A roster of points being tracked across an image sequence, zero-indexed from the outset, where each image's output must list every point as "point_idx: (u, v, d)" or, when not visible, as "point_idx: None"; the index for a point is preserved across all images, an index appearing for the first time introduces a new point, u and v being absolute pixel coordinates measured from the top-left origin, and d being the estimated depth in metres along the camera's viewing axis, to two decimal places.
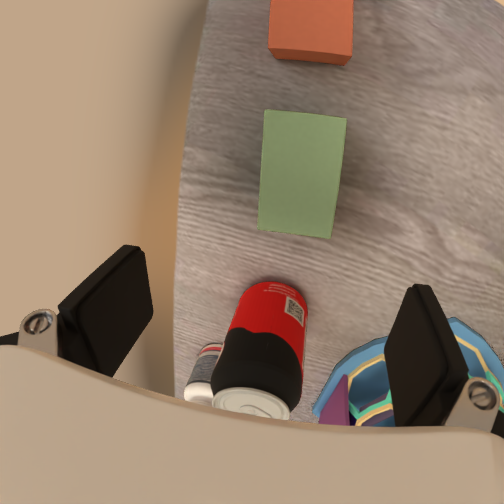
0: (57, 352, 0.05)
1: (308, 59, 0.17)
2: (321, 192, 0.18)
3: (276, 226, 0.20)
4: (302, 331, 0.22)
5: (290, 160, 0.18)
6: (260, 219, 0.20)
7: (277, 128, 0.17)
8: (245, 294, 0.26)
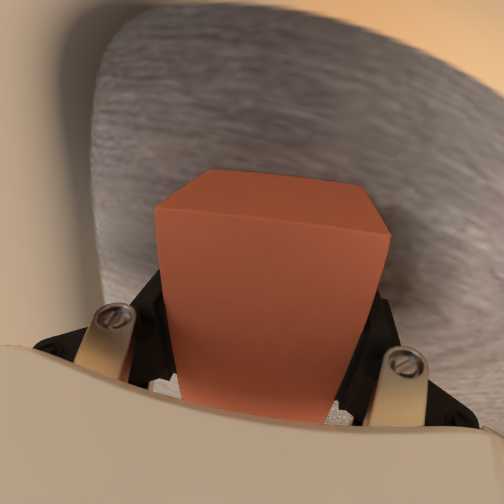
0: (125, 355, 0.06)
1: None
2: None
3: None
4: None
5: None
6: None
7: None
8: None
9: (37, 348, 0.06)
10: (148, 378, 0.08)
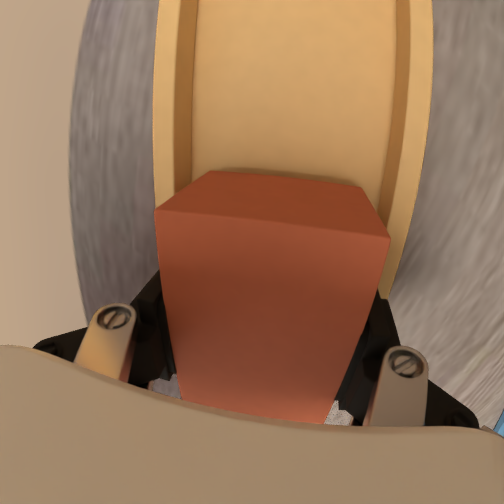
0: (125, 355, 0.06)
1: None
2: None
3: None
4: None
5: None
6: None
7: None
8: None
9: (37, 348, 0.06)
10: (148, 378, 0.08)
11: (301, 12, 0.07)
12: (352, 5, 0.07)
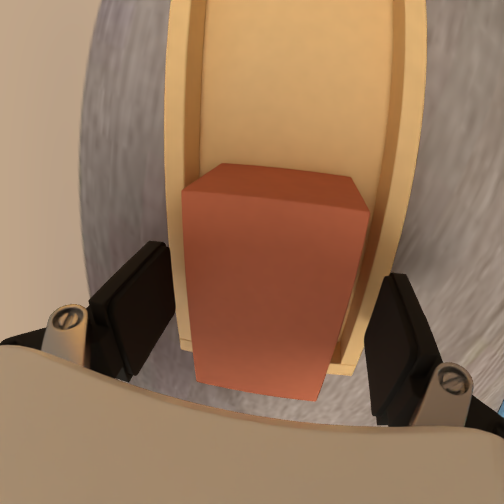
0: (84, 351, 0.06)
1: None
2: None
3: None
4: None
5: None
6: None
7: None
8: None
9: None
10: None
11: (303, 17, 0.08)
12: (351, 10, 0.08)
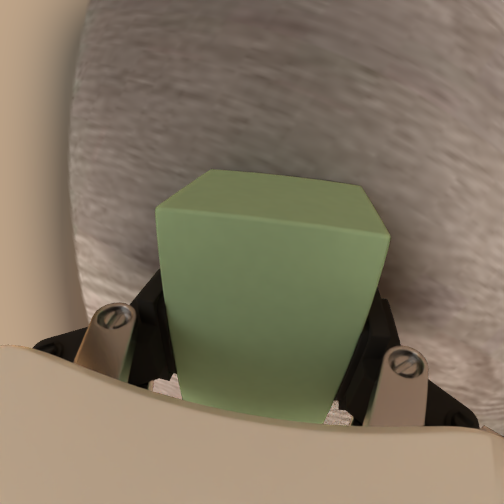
0: (125, 355, 0.06)
1: None
2: (303, 386, 0.08)
3: None
4: None
5: (232, 331, 0.07)
6: None
7: (191, 259, 0.07)
8: None
9: (37, 348, 0.06)
10: (148, 378, 0.08)
11: None
12: None
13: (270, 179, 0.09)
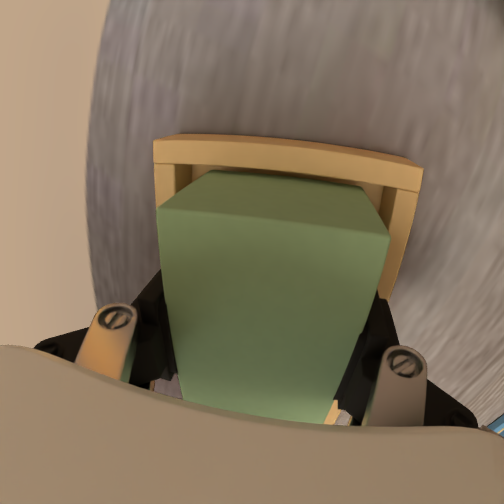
0: (127, 355, 0.06)
1: None
2: (303, 386, 0.08)
3: None
4: None
5: (233, 331, 0.07)
6: None
7: (192, 259, 0.07)
8: None
9: (38, 348, 0.06)
10: (149, 378, 0.08)
11: None
12: None
13: (270, 179, 0.09)
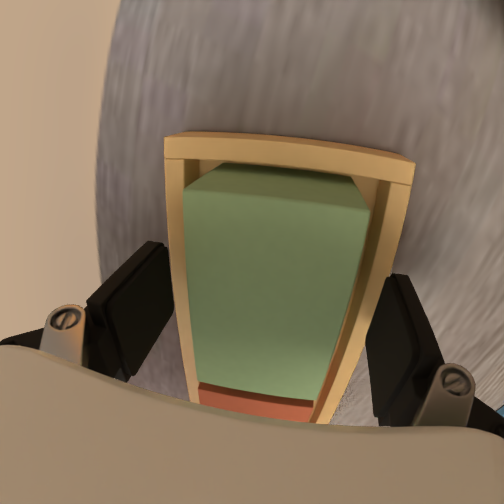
0: (82, 351, 0.06)
1: None
2: (303, 346, 0.10)
3: (226, 382, 0.11)
4: None
5: (243, 294, 0.09)
6: (199, 370, 0.11)
7: (211, 231, 0.08)
8: None
9: None
10: None
11: None
12: None
13: (273, 170, 0.10)
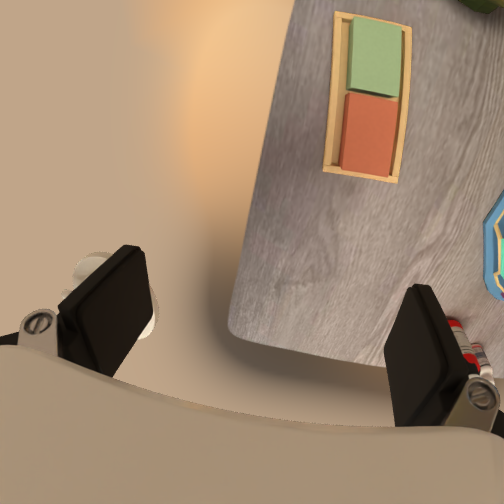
0: (57, 352, 0.05)
1: None
2: (390, 66, 0.22)
3: (363, 85, 0.24)
4: None
5: (371, 45, 0.22)
6: (352, 80, 0.24)
7: (362, 26, 0.21)
8: None
9: None
10: None
11: None
12: None
13: None
